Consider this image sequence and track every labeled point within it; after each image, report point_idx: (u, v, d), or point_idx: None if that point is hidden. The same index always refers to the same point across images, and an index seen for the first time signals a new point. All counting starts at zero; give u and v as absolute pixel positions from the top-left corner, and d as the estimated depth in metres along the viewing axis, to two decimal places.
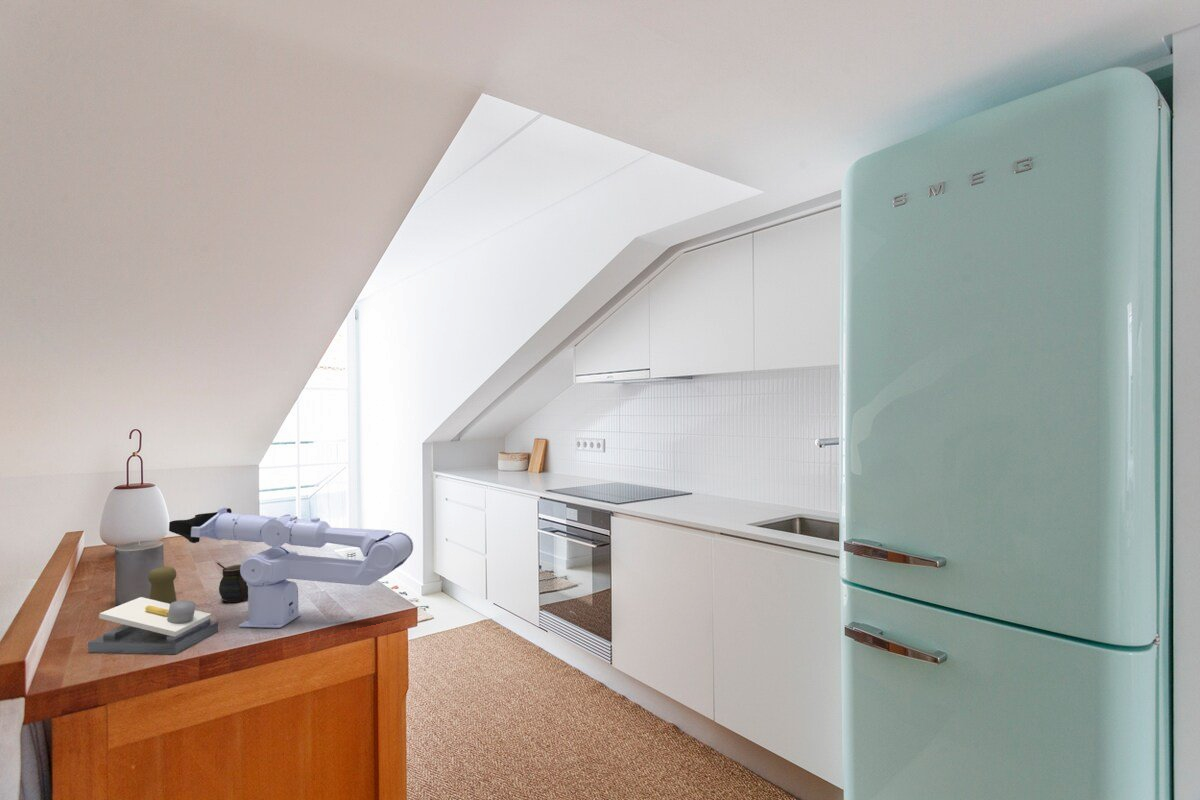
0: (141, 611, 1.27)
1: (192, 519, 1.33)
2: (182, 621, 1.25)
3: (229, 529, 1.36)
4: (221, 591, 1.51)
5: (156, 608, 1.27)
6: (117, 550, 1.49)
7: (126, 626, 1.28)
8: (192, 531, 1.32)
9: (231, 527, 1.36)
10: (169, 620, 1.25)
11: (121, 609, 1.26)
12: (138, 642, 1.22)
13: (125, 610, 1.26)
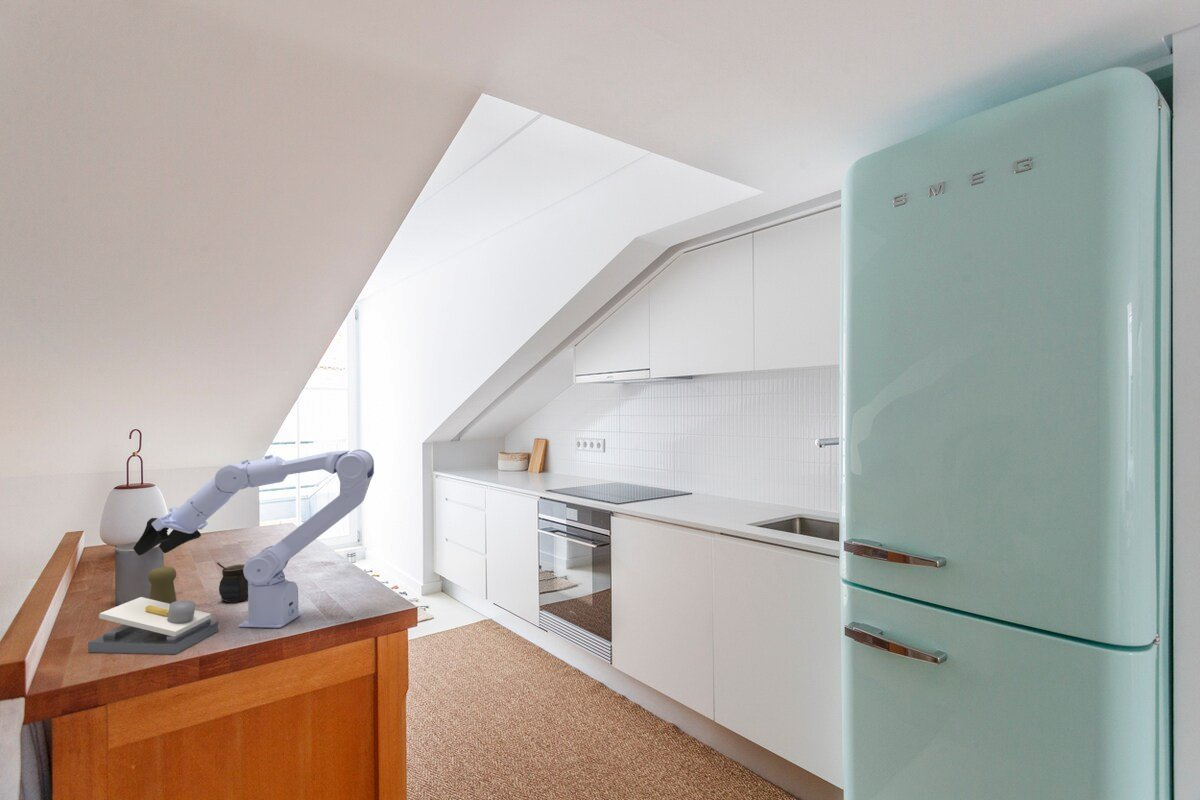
0: (141, 611, 1.27)
1: (148, 521, 1.30)
2: (182, 621, 1.25)
3: (189, 508, 1.33)
4: (221, 591, 1.51)
5: (156, 608, 1.27)
6: (117, 550, 1.49)
7: (126, 626, 1.28)
8: (154, 525, 1.28)
9: (189, 506, 1.33)
10: (169, 620, 1.25)
11: (121, 609, 1.26)
12: (138, 642, 1.22)
13: (125, 610, 1.26)
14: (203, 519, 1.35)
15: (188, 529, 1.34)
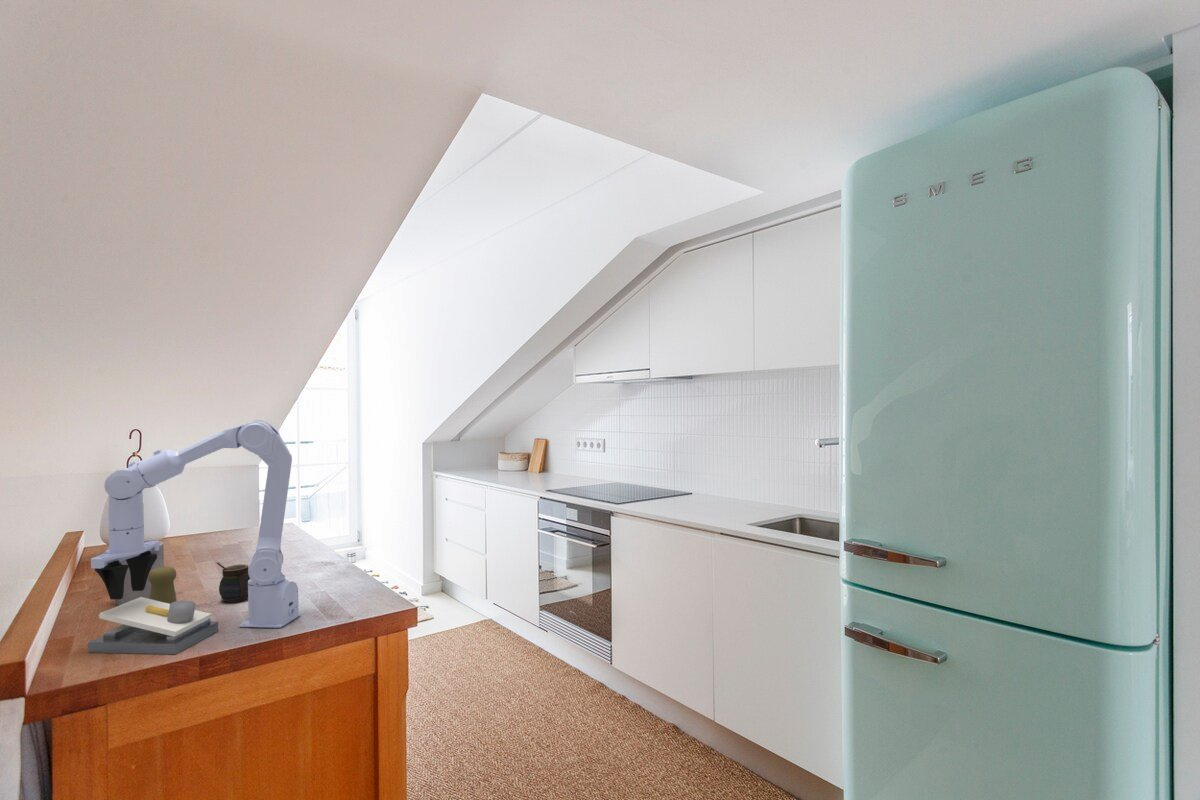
0: (141, 611, 1.27)
1: (95, 569, 1.23)
2: (182, 621, 1.25)
3: (114, 534, 1.25)
4: (221, 591, 1.51)
5: (156, 608, 1.27)
6: None
7: (126, 626, 1.28)
8: (95, 566, 1.21)
9: (112, 533, 1.25)
10: (169, 620, 1.25)
11: (121, 609, 1.26)
12: (138, 642, 1.22)
13: (125, 610, 1.26)
14: (137, 533, 1.27)
15: (133, 550, 1.26)
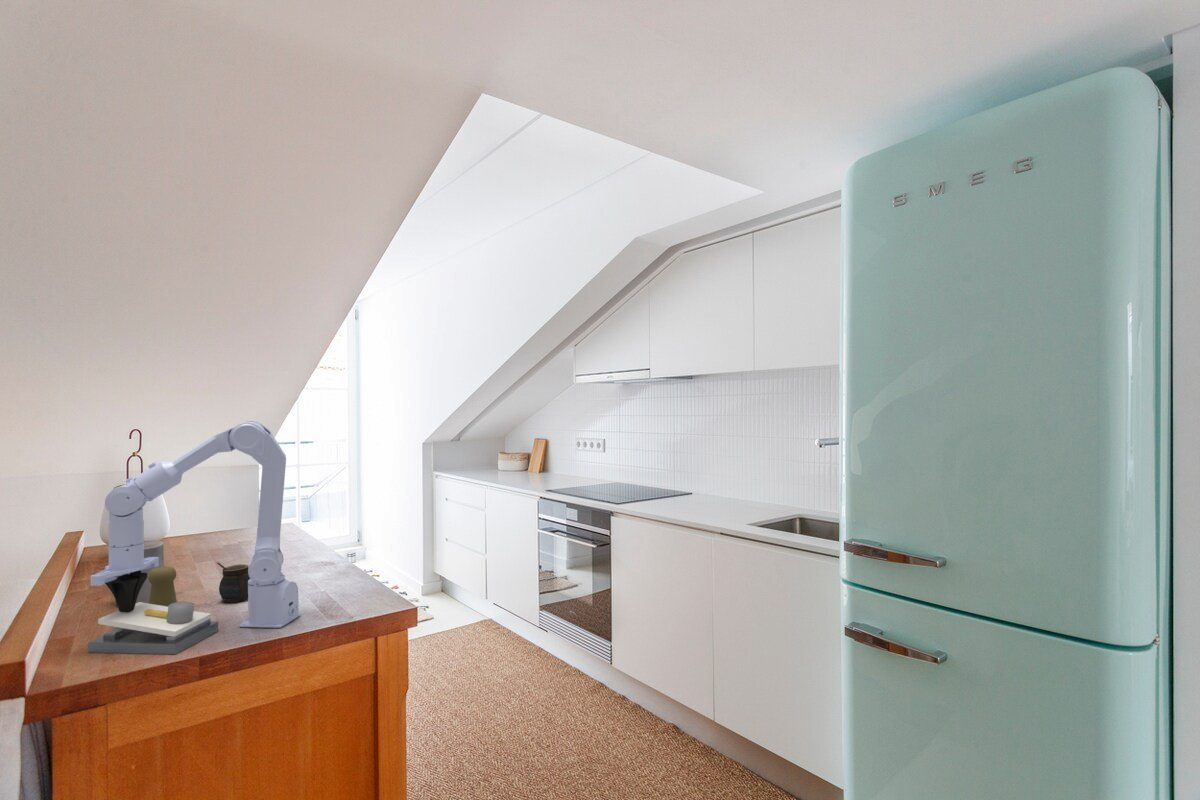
0: (140, 615, 1.27)
1: (105, 582, 1.26)
2: (181, 621, 1.25)
3: (114, 551, 1.25)
4: (221, 591, 1.51)
5: (155, 611, 1.27)
6: None
7: None
8: (94, 584, 1.21)
9: (112, 549, 1.25)
10: (168, 621, 1.25)
11: (120, 614, 1.26)
12: (138, 642, 1.22)
13: (124, 615, 1.26)
14: (137, 550, 1.27)
15: (133, 567, 1.26)
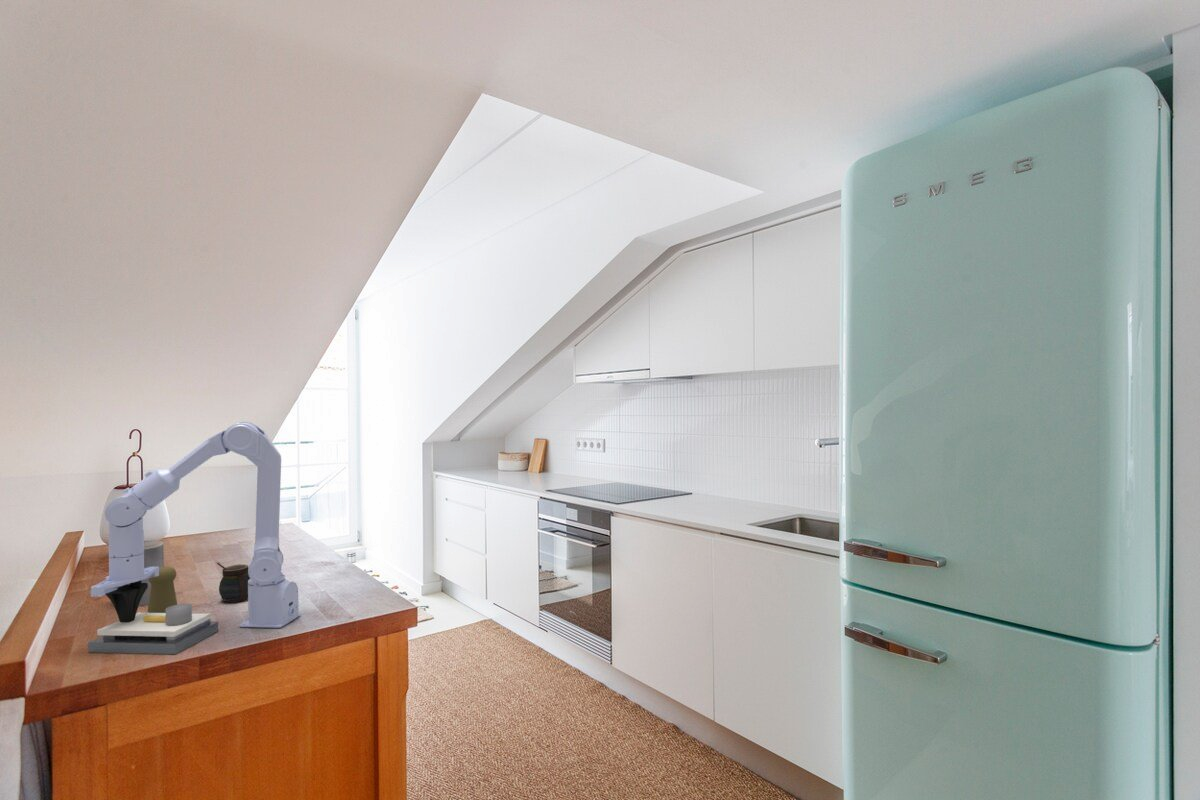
0: (139, 622, 1.27)
1: (105, 593, 1.26)
2: (180, 622, 1.25)
3: (114, 562, 1.25)
4: (221, 591, 1.51)
5: (153, 616, 1.27)
6: None
7: None
8: (94, 595, 1.21)
9: (112, 560, 1.25)
10: (167, 624, 1.25)
11: (119, 624, 1.26)
12: (138, 642, 1.22)
13: (123, 624, 1.26)
14: (137, 560, 1.27)
15: (133, 577, 1.26)
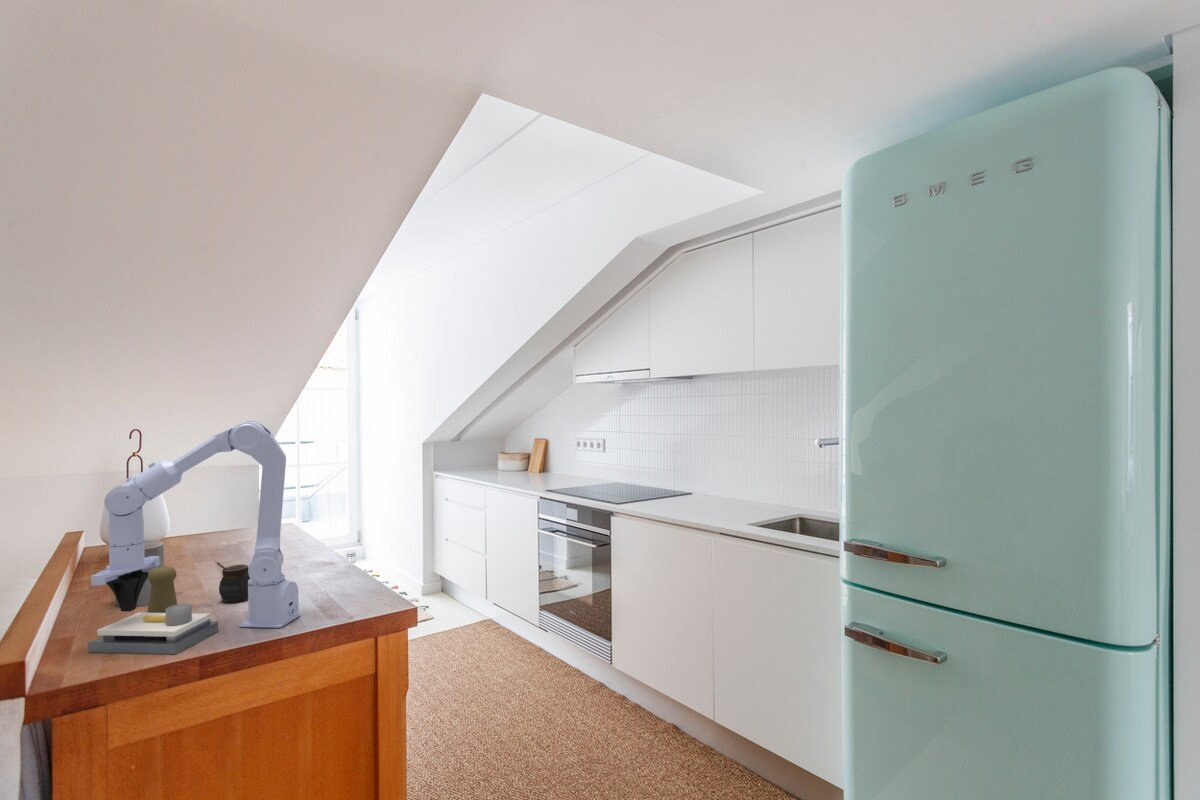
0: (139, 622, 1.27)
1: (106, 581, 1.26)
2: (180, 622, 1.25)
3: (115, 550, 1.25)
4: (221, 591, 1.51)
5: (153, 616, 1.27)
6: None
7: None
8: (95, 583, 1.21)
9: (112, 549, 1.25)
10: (167, 624, 1.25)
11: (119, 624, 1.26)
12: (138, 642, 1.22)
13: (123, 624, 1.26)
14: (137, 549, 1.27)
15: (134, 566, 1.26)
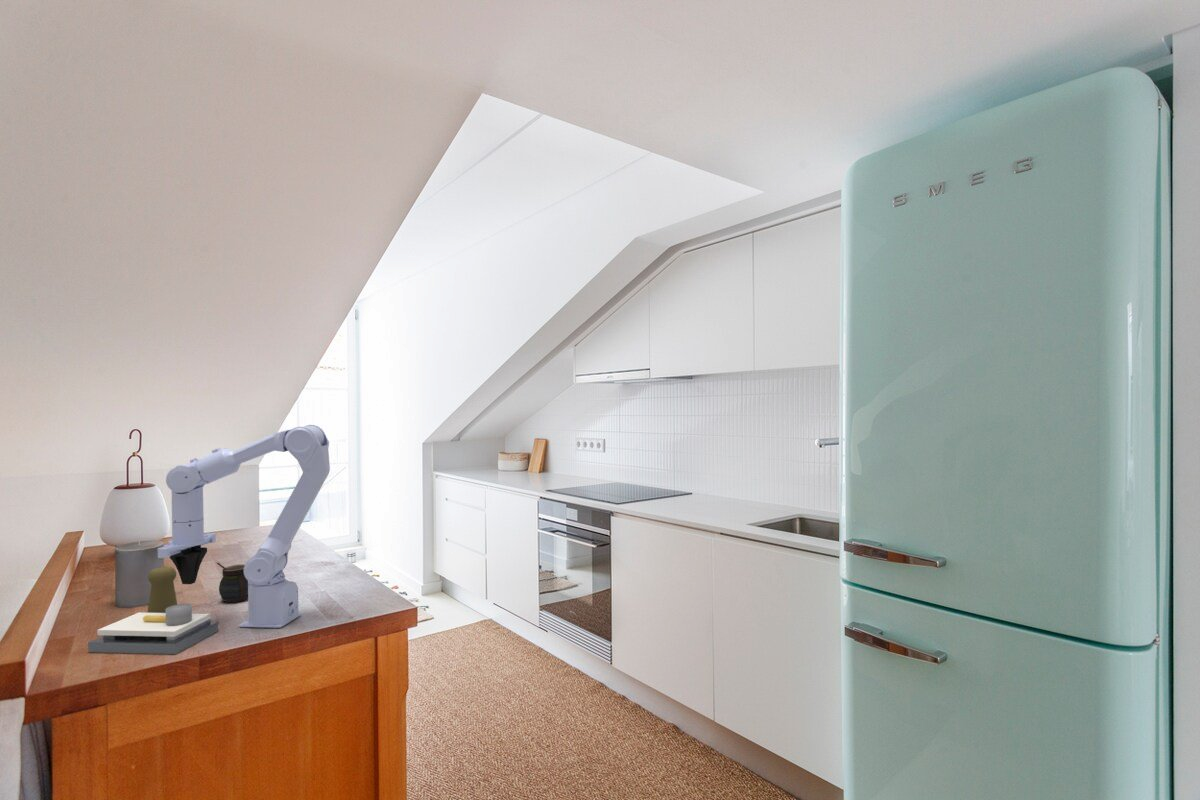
0: (139, 622, 1.27)
1: (169, 555, 1.33)
2: (180, 622, 1.25)
3: (178, 526, 1.32)
4: (221, 591, 1.51)
5: (153, 616, 1.27)
6: (117, 550, 1.49)
7: None
8: (161, 556, 1.28)
9: (176, 525, 1.32)
10: (167, 624, 1.25)
11: (119, 624, 1.26)
12: (138, 642, 1.22)
13: (123, 624, 1.26)
14: (198, 525, 1.35)
15: (195, 541, 1.34)
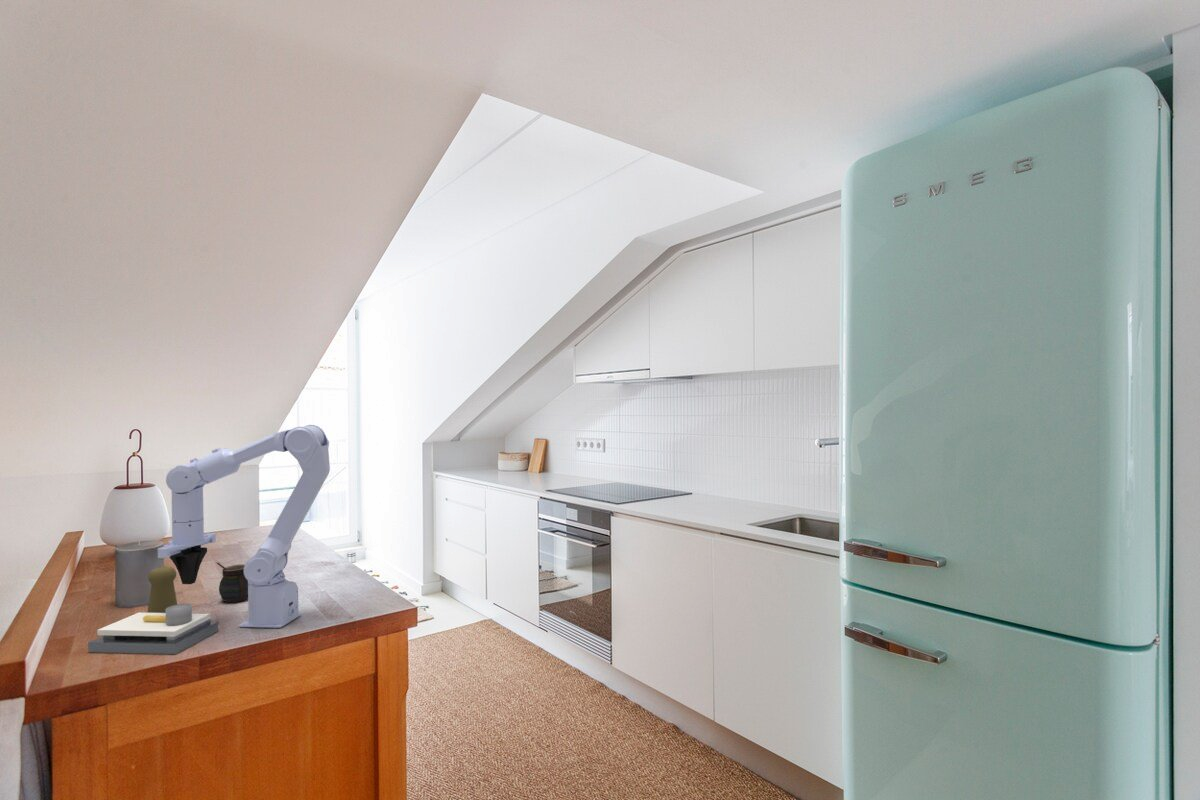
0: (139, 622, 1.27)
1: (169, 555, 1.33)
2: (180, 622, 1.25)
3: (178, 526, 1.32)
4: (221, 591, 1.51)
5: (153, 616, 1.27)
6: (117, 550, 1.49)
7: None
8: (161, 556, 1.28)
9: (176, 525, 1.32)
10: (167, 624, 1.25)
11: (119, 624, 1.26)
12: (138, 642, 1.22)
13: (123, 624, 1.26)
14: (198, 525, 1.35)
15: (195, 541, 1.34)
